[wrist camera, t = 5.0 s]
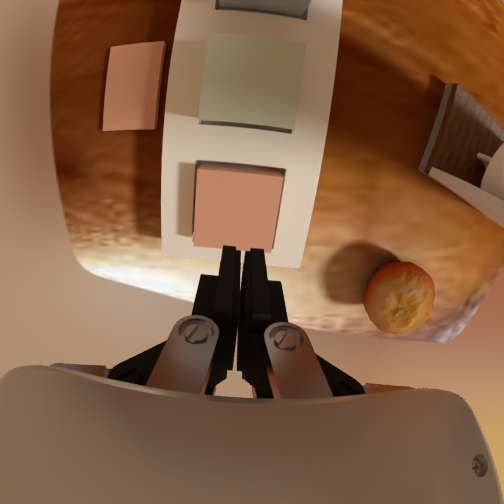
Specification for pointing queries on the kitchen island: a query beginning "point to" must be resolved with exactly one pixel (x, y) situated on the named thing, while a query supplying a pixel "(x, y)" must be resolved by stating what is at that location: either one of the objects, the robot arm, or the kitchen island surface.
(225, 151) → the keypad board
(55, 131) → the kitchen island surface
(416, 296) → the fruit
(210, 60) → the key sage
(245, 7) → the key slate blue
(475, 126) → the tiered shelf stand
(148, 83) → the tile
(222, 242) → the key terracotta
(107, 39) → the kitchen island surface
